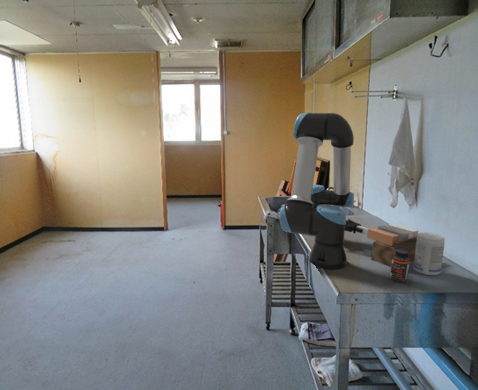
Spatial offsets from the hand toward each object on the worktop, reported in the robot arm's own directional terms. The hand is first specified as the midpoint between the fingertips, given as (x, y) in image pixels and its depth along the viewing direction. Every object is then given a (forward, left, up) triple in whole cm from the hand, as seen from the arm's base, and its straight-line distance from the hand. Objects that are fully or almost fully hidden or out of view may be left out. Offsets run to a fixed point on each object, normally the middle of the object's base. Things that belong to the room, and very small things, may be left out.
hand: (369, 232), depth 151 cm
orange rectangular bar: (+3, -6, -2) cm, 7 cm away
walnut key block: (+10, -6, -10) cm, 16 cm away
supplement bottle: (-1, -25, -10) cm, 27 cm away
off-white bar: (+15, 0, -2) cm, 15 cm away
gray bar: (+9, -3, -2) cm, 10 cm away
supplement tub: (+15, -19, -10) cm, 26 cm away
